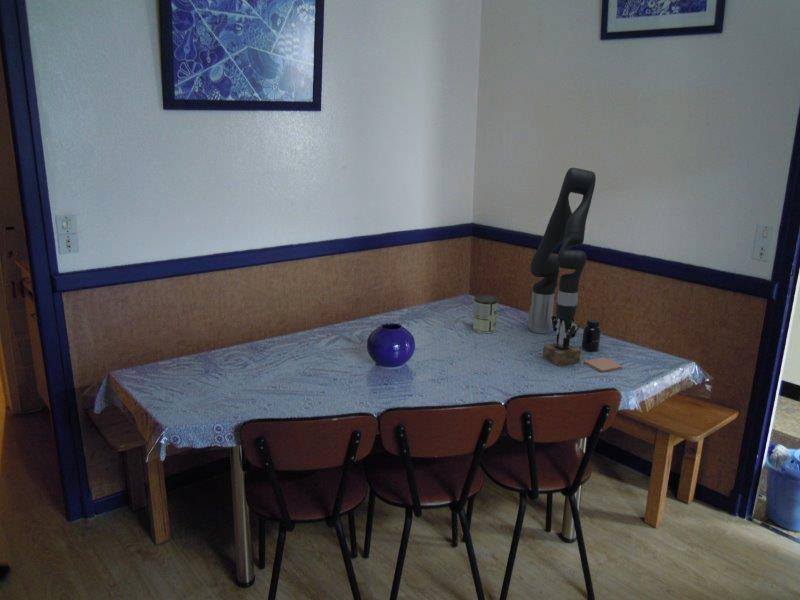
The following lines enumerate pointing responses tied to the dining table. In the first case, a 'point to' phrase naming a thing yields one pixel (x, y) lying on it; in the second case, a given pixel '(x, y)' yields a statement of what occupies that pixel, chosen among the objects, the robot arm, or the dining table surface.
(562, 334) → the metal pin
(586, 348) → the supplement bottle
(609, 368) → the terracotta mat
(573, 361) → the walnut block
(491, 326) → the coffee can
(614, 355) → the dining table surface
